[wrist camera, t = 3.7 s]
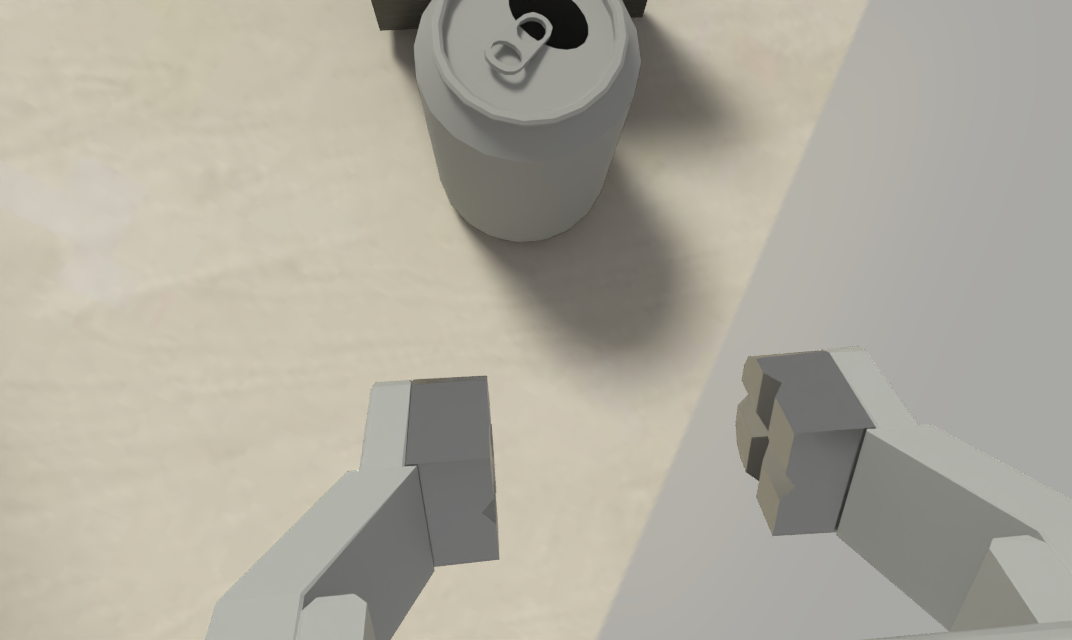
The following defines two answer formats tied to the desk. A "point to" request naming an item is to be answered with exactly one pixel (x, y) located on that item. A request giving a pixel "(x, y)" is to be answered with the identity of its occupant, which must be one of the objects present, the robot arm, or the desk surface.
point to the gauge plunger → (405, 3)
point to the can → (525, 106)
